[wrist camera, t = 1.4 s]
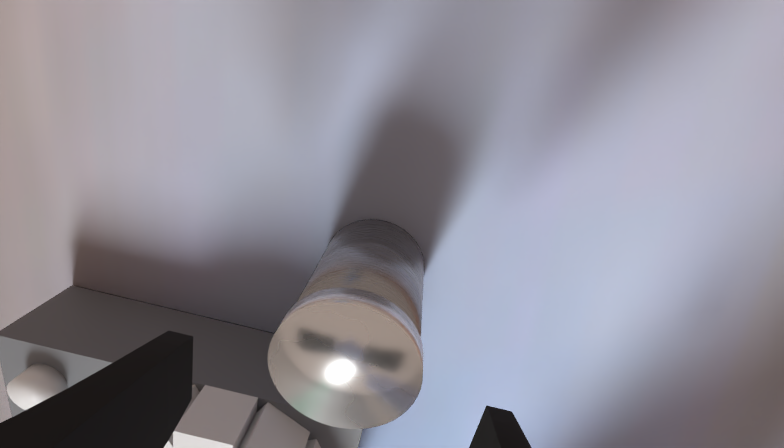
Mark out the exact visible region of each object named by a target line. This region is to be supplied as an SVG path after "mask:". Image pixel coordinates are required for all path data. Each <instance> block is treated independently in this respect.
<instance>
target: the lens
mask: <svg viewBox="0 0 784 448" xmlns="http://www.w3.org/2000/svg"><path fill="white" fill-rule="evenodd" d="M423 279H424V260H423V256H422V252H421V250H420V248H419V246H418V244H417V243H416V241H415V240H414V239H413V237H412V236H411V235H410V234H409V233H407V232H406V231H405V230H403V229H402V228H400V227H399V226H397V225H395V224H392V223H390V222H386V221H382V220H372V219H370V220H361V221H357V222H354V223H351V224H349V225H347V226H345V227H344V228H343V229H341V230H340V231H339V232H338V233H337V234H336V235H335V236H334V237H333V239H332V240H331V242H330V244H329V245H328V247H327V249H326V251H325V253H324V254H323V256H322V258H321V260H320V261H319V263H318V265H317V267H316V269H315V270H314V272H313V274H312V276H311V277H310V279H309V281H308V283H307V285H306V286H305V288H304V290H303V292H302V294H301V295H300V297H299V299H298V301H297V302H296V304H294V305H293V306H292V307H291V308H290V310H289V311H288V312H287V313H286V315H285V317H284V318H283V320H282V322H281V324H280V325H279V327H278V329H277V331H276V332H275V334H274V336H273V337H272V340H271V343H270V345H269V350H268V368H269V372H270V375H271V378H272V380H273V383H274V385H275V386H276V388H277V390H278V391H279V393H280V394H281V395H282V396H283V398H284V399H285V400H286V401H287V402H288V403H289V404H290V405H291V406H292V407H294V408H295V409H296V410H297V411H299V412H300V413H302V414H304V415H305V416H307V417H309V418H311V419H313V420H315V421H317V422H320V423H322V424H326V425H329V426H333V427H338V428H345V429H365V428H372V427H377V426H380V425H383V424H386V423H388V422H390V421H393V420H395V419H396V418H398V417H399V416H401V415H402V414H403V413H405V412H406V411H407V410H408V409H409V408H410V407H411V405H412V404H413V403H414V401H415V400H416V398H417V397H418V394H419V392H420V389H421V385H422V377H423V345H422V341H421V320H422V299H423Z"/></svg>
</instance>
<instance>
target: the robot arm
mask: <svg viewBox="0 0 784 448" xmlns="http://www.w3.org/2000/svg"><path fill="white" fill-rule="evenodd" d="M192 372H193V336H190V335H186V334H182V333H177V332H173V331H167V332H165V333H163V334H162V335H160V336H158V337H156V338H155V339H153V340H151V341H149V342H148V343H146V344H144V345H142V346H141V347H139V348H137V349H136V350H134V351H132V352H130V353H129V354H127V355H125V356H124V357H122V358H120V359H118V360H117V361H115V362H113V363H111V364H110V365H108V366H106V367H105V368H103V369H101V370H99V371H97V372H96V373H94V374H92V375H90V376H89V377H87V378H85V379H83V380H81V381H80V382H78V383H76V384H74V385H72V386H71V387H69V388H67V389H65V390H63V391H62V392H60V393H58V394H56V395H54V396H52V397H50V398H48V399H46V400H44V401H42V402H41V403H39V404H37V405H35V406H33V407H31V408H29V409H27V410H25V411H23V412H21V413H19V414H17V415H16V416H14V417H12V418H10V419H8V420H6V421H4V422H2V423H0V448H164V446H165V445H166V443H167V442H168V440H169V439H170V437H171V435H172V433H173V432H174V430H175V428H176V427H177V425H178V423H179V421H180V420H181V418H182V416H183V414H184V412H185V411H186V409H187V407H188V405H189V403H190V401H191V400H192ZM469 448H531V446H530V444H529V442H528V440H527V438H526V437H525V435H524V433H523V431H522V429H521V427H520V426H519V424H518V422H517V420H516V418H515V416H514V415H513V413H512V412H511V411H507V410H503V409H499V408H494V407H490V406H486V408H485V411H484V413H483V416H482V418H481V420H480V423H479V425H478V428H477V430H476V432H475V435H474V437H473V440H472V442H471V445H470V447H469Z"/></svg>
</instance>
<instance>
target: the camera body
mask: <svg viewBox="0 0 784 448" xmlns="http://www.w3.org/2000/svg"><path fill="white" fill-rule="evenodd" d="M167 331H173V332H177V333H182V334H186V335H190V336H193V372H192V400H191V401H190V403H189V405H188V407H187V409H186V411H185V412H184V414H183V416H182V418H181V420H180V421H179V423H178V425H177V427H176V428H175V430H174V432H173V433H172V435H171V437H170V439H169V440H168V442H167V443H166V445H165V446H164V448H358V445H359V441H360V438H361V434H362V430H363V429H345V428H338V427H333V426H329V425H326V424H322V423H320V422H317V421H315V420H313V419H311V418H309V417H307V416H305V415H304V414H302V413H300V412H299V411H297V410H296V409H295V408H294V407H292V406H291V405H290V404H289V403H288V402H287V401H286V400H285V399H284V398H283V396H282V395H281V394H280V393H279V391H278V390H277V388H276V386H275V385H274V383H273V380H272V378H271V375H270V372H269V368H268V350H269V345H270V343H271V340H272V337H273V336H274V334H273V333H269V332H265V331H261V330H257V329H253V328H248V327H244V326H240V325H236V324H232V323H227V322H223V321H219V320H215V319H211V318H206V317H202V316H198V315H194V314H190V313H185V312H181V311H177V310H173V309H169V308H164V307H160V306H156V305H152V304H148V303H143V302H139V301H135V300H131V299H127V298H122V297H118V296H114V295H110V294H106V293H101V292H97V291H93V290H89V289H85V288H80V287H76V286H70V287H69V288H67V289H66V290H64V291H62V292H61V293H59V294H58V295H56V296H55V297H53V298H51V299H50V300H48V301H47V302H45V303H43V304H42V305H40V306H39V307H37V308H36V309H34V310H32V311H31V312H29V313H28V314H26V315H24V316H23V317H21V318H20V319H18V320H17V321H15V322H13V323H12V324H10V325H9V326H7V327H5V328H4V329H2V330H1V331H0V363H1V368H2V372H3V377H4V382H5V387H6V391H7V396H8V401H9V405H10V410H11V415H12V417H14V416H16V415H17V414H19V413H21V412H23V411H25V410H27V409H29V408H31V407H33V406H35V405H37V404H39V403H41V402H42V401H44V400H46V399H48V398H50V397H52V396H54V395H56V394H58V393H60V392H62V391H63V390H65V389H67V388H69V387H71V386H72V385H74V384H76V383H78V382H80V381H81V380H83V379H85V378H87V377H89V376H90V375H92V374H94V373H96V372H97V371H99V370H101V369H103V368H105V367H106V366H108V365H110V364H111V363H113V362H115V361H117V360H118V359H120V358H122V357H124V356H125V355H127V354H129V353H130V352H132V351H134V350H136V349H137V348H139V347H141V346H142V345H144V344H146V343H148V342H149V341H151V340H153V339H155V338H156V337H158V336H160V335H162V334H163V333H165V332H167Z"/></svg>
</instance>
